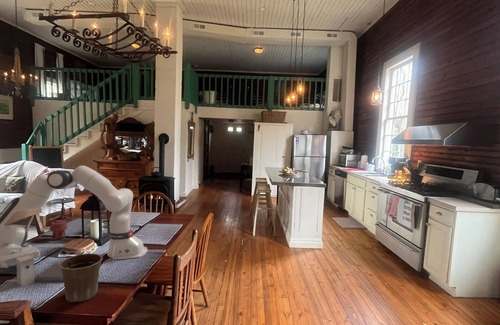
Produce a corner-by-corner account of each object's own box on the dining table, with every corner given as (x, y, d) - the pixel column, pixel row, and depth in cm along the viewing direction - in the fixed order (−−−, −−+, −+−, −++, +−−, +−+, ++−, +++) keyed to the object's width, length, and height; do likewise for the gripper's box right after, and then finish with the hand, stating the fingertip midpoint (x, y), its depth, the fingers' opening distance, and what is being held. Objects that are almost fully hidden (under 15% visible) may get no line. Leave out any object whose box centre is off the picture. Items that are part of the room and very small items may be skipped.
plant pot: (86, 282, 135) (86, 250, 133) (110, 290, 128) (110, 256, 127) (51, 299, 120) (50, 264, 118) (77, 309, 113) (76, 272, 112)
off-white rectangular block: (30, 278, 137) (29, 254, 136) (34, 282, 133) (33, 258, 132) (17, 282, 133) (16, 258, 132) (21, 286, 129) (20, 261, 128)
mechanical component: (71, 236, 193) (58, 241, 183) (59, 235, 195) (46, 240, 185) (70, 219, 192) (58, 223, 182) (58, 218, 194) (45, 222, 184)
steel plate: (82, 267, 149) (82, 263, 148) (67, 281, 135) (67, 276, 134) (54, 268, 147) (54, 263, 147) (36, 281, 133) (36, 276, 133)
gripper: (-16, 256, 138) (-8, 264, 130) (34, 244, 154) (43, 250, 147) (-15, 268, 138) (-8, 276, 130) (34, 254, 155) (44, 261, 147)
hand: (20, 262), depth 139 cm, fingers open, 8 cm apart
